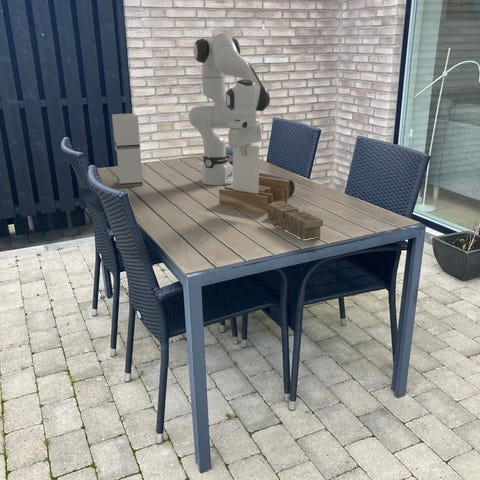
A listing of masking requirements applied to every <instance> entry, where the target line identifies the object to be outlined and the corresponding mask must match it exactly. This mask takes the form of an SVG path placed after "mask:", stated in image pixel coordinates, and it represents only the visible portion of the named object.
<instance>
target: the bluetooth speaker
mask: <svg viewBox="0 0 480 480" xmlns="http://www.w3.org/2000/svg"><path fill="white" fill-rule="evenodd" d="M259 176H262V177H269V178H276V179H282V180H289V196H288V198H290V197H292V196H293V195H294V193H295V189H296V185H295V183H294V181H293V180H292V179H289V178H286V177H282V176H278V175H274V174H273V175H272V174H267V173H262V172H259Z"/></svg>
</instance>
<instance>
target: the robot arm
mask: <svg viewBox="0 0 480 480" xmlns="http://www.w3.org/2000/svg"><path fill="white" fill-rule="evenodd" d="M192 51H193V57H194V59H195V60H196V62H197V63H200V64H201V63H202V67H201V84H202V85H201V86H202V87H201V88H202V90H201V91H202V94H203V95H204V96H205V97H206V98H208V99H209V100H212V102H213V103H214V105H198V106H193V107H192V108H191V109H190V110H189V113H188V120H189V123H190V125H191V126H192V127H193V128H195V129H196V130H197V132H199V134H200V136H201V138H202V142H203V153H204V154H203V156H202V157H203V160H202V161H203V165H202V169H201V171H202V174H201V177H200V181H201V183H202V184H203V185H208V186H221V185H222V186H223V185H233V165H231V164H230V163H229V162H228V159H230V157H231V156H230V155H226V147H227V143H226V140H225V138H224V137H223V136H222V135H220V134H217V133H216V132H215V129H228V135H227V137H228V145H229V146H230V147H233V148H238V147H239V149H240V151H241V156H246V151H245V145H253V144H255V143H258V142H261V140H262V128H261V124H260V121H259V120H258V119H257V114H258V113H257V112H263V111H264V110H266V109H267V107H269V105H270V102H271V98H270V93H269V90H268V89H267V88H266V86H264V84H263V83H262V81H261V79H260V77H259V76H258V74H257V73H256V71H255V69H254V68H253V65H252V64H251V63H250V62H249V61H248V60H246V59H245V58H244V57H242V56H241V55H240V54H241V45H240V42H239V40H238V39H236V38H233V37H231V36H230V35H229V34H227V33H225V32H224V33H223V32H221V33H217V34H216V35H214V36H213V37H210V38H199V39H197V40H196V41H195V42H194V46H193V50H192ZM225 75H226V76H229V77H230V76H232V77H236V78H239V79H240V80H237V81H236V83H235V86H234V87H230V88H229V89H228V90H226V83H225V81H226V80H225ZM226 91H227V92H226ZM227 158H228V159H227Z"/></svg>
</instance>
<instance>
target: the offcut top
mask: <svg viewBox="0 0 480 480" xmlns="http://www.w3.org/2000/svg"><path fill="white" fill-rule="evenodd" d="M259 192H262V193H269V194H270V193H271V188H270V187H264V186H259Z"/></svg>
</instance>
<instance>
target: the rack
mask: <svg viewBox="0 0 480 480" xmlns="http://www.w3.org/2000/svg"><path fill="white" fill-rule="evenodd" d="M289 180H290V179H289ZM289 180H282V179H276V178H269V177H262V176H259V186H264V187H270V188H271V193H273V194H269V193H262V192H259V193H258V194H255V193H249V192H243V191H237V190H233V186H224V188H219V189H218V196H219V197H218V198H219V199H218V202H219V203H218V206H222V207H228V208H233V209H238V210H244V211H249V212H255V213H258V214H264V215H265V214H267V215H268V204H272V202H277V201H284V202H285V203H288V204H289V197H288V196H289Z"/></svg>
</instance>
